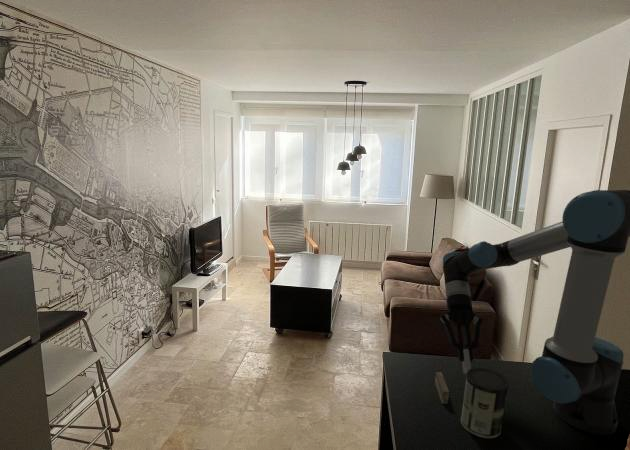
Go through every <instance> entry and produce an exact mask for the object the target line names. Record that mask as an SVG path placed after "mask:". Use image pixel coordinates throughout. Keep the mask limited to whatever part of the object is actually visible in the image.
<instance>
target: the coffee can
mask: <svg viewBox="0 0 630 450" xmlns="http://www.w3.org/2000/svg"><path fill="white" fill-rule="evenodd" d="M465 375H466V376H465V387H464V391H463V392H464V394H463V402H462V409H461V416H460V424H461V425H462V427H463V428H464V430H465V431H467V432H469V433H470V434H472V435H474V436H477V437H479V438H483V439H495V438H497V437H500V435H501V433H502V425H503V419H504V411H505V405H506V400H507V393H508V389H509V387H510V386H509V385H510V384H509V381H508V379H507V378H506V377H505V376H504V375H502V374H500V372H497V371H495V370H492V369H489V368H485V367H473V368H472V367H471V369H469V370H468V371H467V373H466V374H465Z"/></svg>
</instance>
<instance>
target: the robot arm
mask: <svg viewBox="0 0 630 450" xmlns="http://www.w3.org/2000/svg"><path fill="white" fill-rule="evenodd" d="M629 238H630V189H629V190H626V189H615V190H613V189H608V190H606V189H603V190H602V189H600V190H599V189H596V190H591V191H586V192H583V193H580V194H578V195H576V196H575V197H573V198H572V199H571V200H570V201H569V202H568V203H567V205H566V206H565V208H564V210H563V212H562V219H561V221H559V222H557V223H554V224H551V225H548V226H544V227H542V228H540V229H538V230H535V231H532V232H529V233H526V234H524V235H521V236H518V237H515V238H513V239H510V240H507V241H503V242H502V243H497V244H491V242H487V241H480V242H478V243H475V244H473V245H472V246H470V247H469V248H468V249H466V250H464V251H463V252H461V251H451V252H448V253H446V254H444V256H443V257H442V270H443V276H444V285H445V296H446V308H447V309H446V310H447V311H446V314H444V315H441V317H440V318H439V321H440V323H441V324H442V325H443V328H444V331H445V334H446V337H447V338H448V339H447V340H448V342H449V346H450V348H451V349H455V350H456V352H457V357H458V361H459V362H462V363H461V364H462V365H461V366H462V372H463V374H464V375H466V373H467V371H468V370H469V369H472V365H471V363H472V362H473V361H474V356H473V351H475V350H476V349H477V348H478V347H479V341H480V332H481V325H482V323H483V322H484V320H483V319H484V318H482V317H477V315H475V314H476V313H475V312H474V310H473V304H472V303H473V302H472V297H471V289H470V281H469V277H470V276H473V275H474V274H476V273H478V272H480V271H483V270H488V269H495V268H496V269H497V268H501V267H511V266H515V265H517V264H519V263H520V262H523V261H527V260H530V259H534V258H537V257H540V256H545V255H547V254H551V253H555V252H558V251H561V250H564V249H569V248H571V255H570V259H569V262H568V263H569V264H568V268H567V274H566V278H565V281H564V287H563V291H562V295H561V296H562V297H561V301H560V305H559V309H558V314H557V318H556V323H555V327H554V330H553V331H554V332H553V336H551V337H548V338H546V340H545V342H544V344H543V350H542V354H541V356H538V357H536V358H535V359H534V360H533V361H532V363H531V365H530V376H531V379H532V382H533V383H534V384H535V385H536V388H537V390H538V391H539V392H540V393H541V394H542V395H543V396H545V397H546V398H547V399H549V400H550V401H552V402H553V404H552V408H553V411H554V413H555V414H556V415H557V416H558V417H559V418H560V419H561V420H562V421H563V422H565V423H566V424H568V425H570V426H571V427H573V428H575V429H578V430H580V431H582V432H585V433H589V434H592V435H598V436H608V435H612V434H614V433H615V432H616V431H617V428H618V423H619V422H618V420H619V419H618V414H617V410H616V403H615V397H616V393H617V389H618V385H619V380H620V376H621V373H622V368H623V365H624V354H625V353H624V352H623V350H622V349H621V348H620V347H618V346H617V345H615V344H614V343H612V342H609V341H607V340H604V339H602V338H598V337H596V335H597V331H598V327H599V323H600V319H601V315H602V312H603V308H604V304H605V298H606V296H607V291H608V286H609V283H610V280H611V275H612V270H613V267H614V263H615V259H616V258H617V257H619V256H621V255H623V254H624V253H625V252H626V248H627V244H628V241H629ZM472 321H473V324H474V326H473V330H472V331H473V332H472V336H471V330H470V329H471V328H470V327H471V326H470V325H471V323H472ZM450 322H451V323H452V324H453V327H454V328H453V329H454V332H453V329H452V326H451V323H450ZM462 331H463V332H462ZM454 333H455V335H454ZM463 338H464V339H463ZM464 346H465V348H464Z"/></svg>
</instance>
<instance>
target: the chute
mask: <svg viewBox="0 0 630 450" xmlns="http://www.w3.org/2000/svg"><path fill="white" fill-rule="evenodd" d="M434 385H435V388H436V391H437V393H438V396H439V399H440V401H441V404H442V405H443V404H444V405H448V404H449V397H450V390H449V388H448V386H447V382H446V380H445V378H444V375H443V373H442V372H440V371H436V372H435V379H434Z"/></svg>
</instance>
